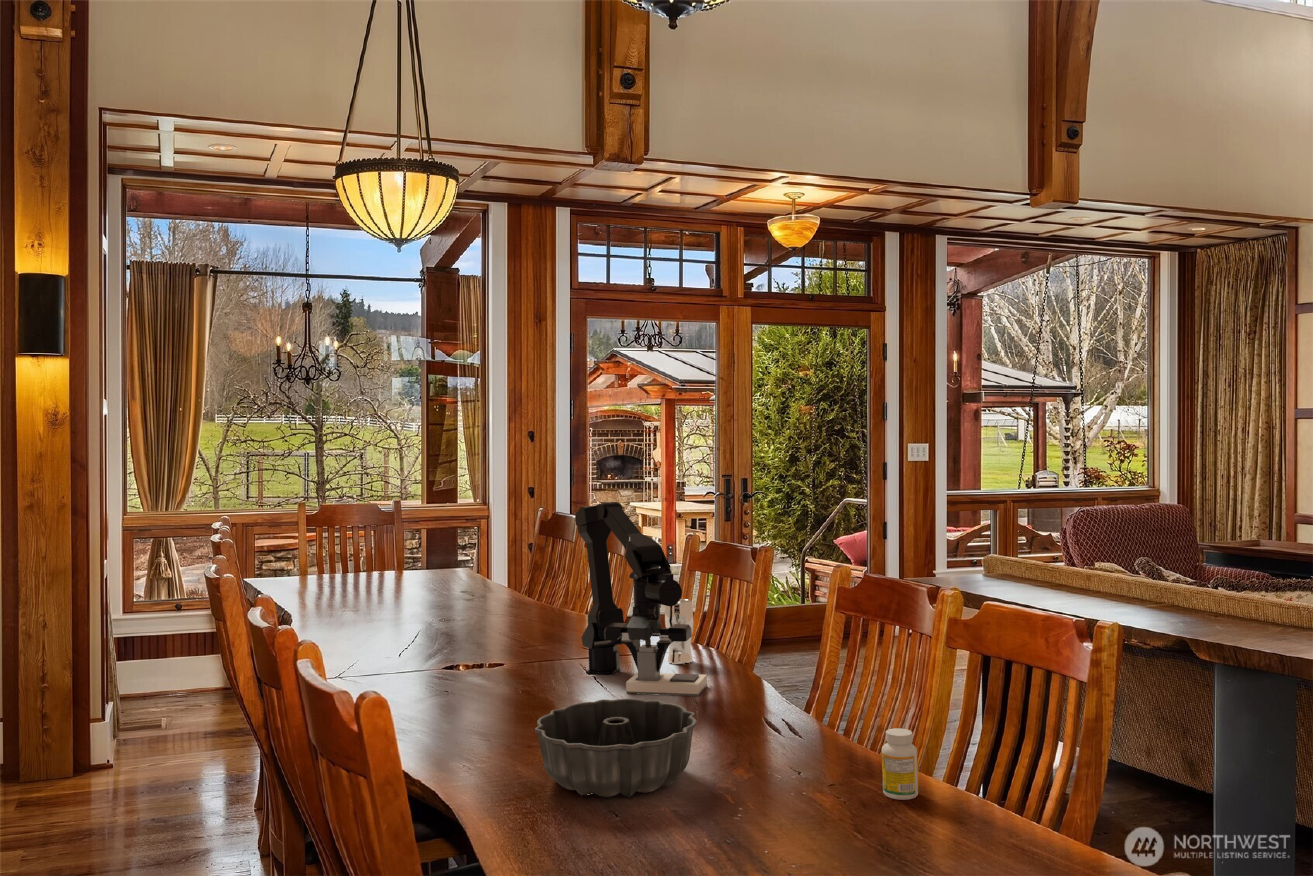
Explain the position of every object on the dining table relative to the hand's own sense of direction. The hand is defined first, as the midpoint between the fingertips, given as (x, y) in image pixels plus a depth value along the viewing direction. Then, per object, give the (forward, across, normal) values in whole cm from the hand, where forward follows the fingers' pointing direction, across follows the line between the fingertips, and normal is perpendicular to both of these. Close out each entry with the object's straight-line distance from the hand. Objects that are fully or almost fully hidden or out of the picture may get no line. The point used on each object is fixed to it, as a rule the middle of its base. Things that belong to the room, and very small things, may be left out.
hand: (648, 671), depth 227 cm
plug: (+2, 0, 0) cm, 2 cm away
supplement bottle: (+4, +56, -57) cm, 80 cm away
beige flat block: (+4, +4, 0) cm, 6 cm away
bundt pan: (+4, +11, -58) cm, 59 cm away
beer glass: (+4, 0, +27) cm, 27 cm away
